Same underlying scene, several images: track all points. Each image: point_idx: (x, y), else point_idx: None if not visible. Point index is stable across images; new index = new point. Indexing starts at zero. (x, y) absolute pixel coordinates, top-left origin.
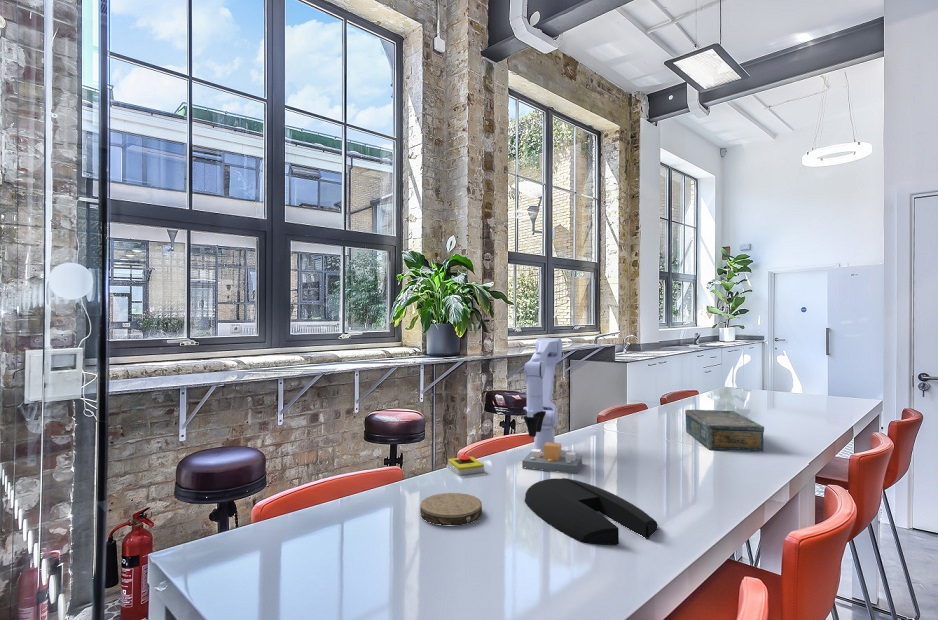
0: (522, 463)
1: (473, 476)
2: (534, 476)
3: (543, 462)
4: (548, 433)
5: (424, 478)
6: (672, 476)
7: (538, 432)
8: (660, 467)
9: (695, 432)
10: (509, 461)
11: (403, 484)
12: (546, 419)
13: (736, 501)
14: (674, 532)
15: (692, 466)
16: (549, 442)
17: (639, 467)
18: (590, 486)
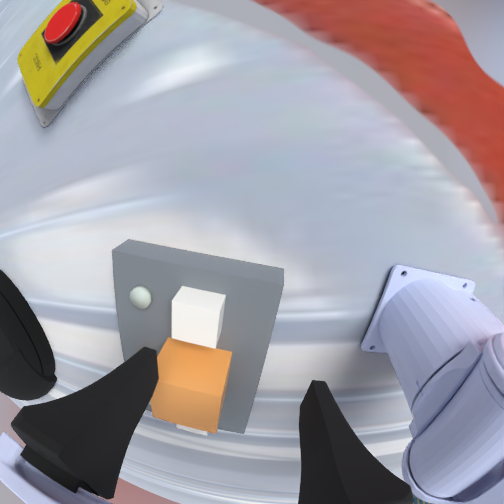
0: (118, 246)
1: (30, 97)
2: (70, 284)
3: (121, 331)
4: (405, 396)
5: (30, 5)
6: (200, 483)
7: (426, 358)
8: (250, 486)
9: (415, 499)
10: (216, 164)
11: (10, 4)
12: (430, 453)
13: (130, 479)
14: (22, 402)
15: (265, 501)
16: (218, 404)
17: (242, 474)
18: (8, 376)
